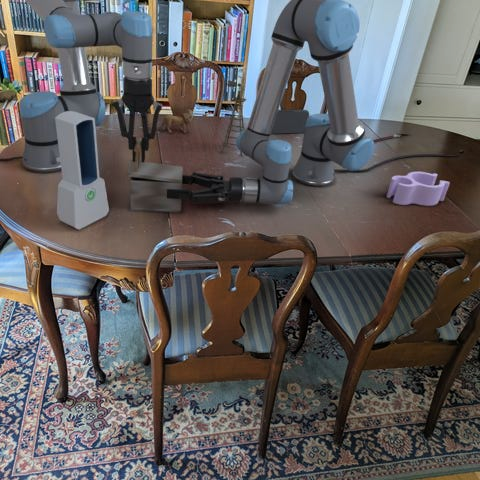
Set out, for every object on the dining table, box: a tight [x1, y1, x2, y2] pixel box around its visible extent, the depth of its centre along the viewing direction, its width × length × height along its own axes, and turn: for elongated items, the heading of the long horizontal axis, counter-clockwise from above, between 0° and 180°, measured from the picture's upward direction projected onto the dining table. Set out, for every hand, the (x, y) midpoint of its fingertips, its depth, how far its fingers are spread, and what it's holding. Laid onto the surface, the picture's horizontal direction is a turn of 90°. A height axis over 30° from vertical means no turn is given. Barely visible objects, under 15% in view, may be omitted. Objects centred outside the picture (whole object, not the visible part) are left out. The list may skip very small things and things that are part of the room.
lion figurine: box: [158, 109, 194, 134], centre depth 194 cm, size 15×5×9 cm, turn 110°
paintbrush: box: [372, 133, 409, 143], centre depth 213 cm, size 31×3×1 cm, turn 126°
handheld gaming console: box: [270, 109, 310, 135], centre depth 205 cm, size 23×3×10 cm, turn 108°
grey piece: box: [126, 137, 184, 183], centre depth 135 cm, size 16×9×9 cm, turn 94°
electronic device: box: [55, 111, 110, 231], centre depth 124 cm, size 12×8×30 cm, turn 148°
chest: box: [129, 172, 184, 213], centre depth 141 cm, size 15×9×10 cm, turn 94°
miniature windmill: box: [221, 72, 247, 156], centre depth 177 cm, size 9×8×30 cm
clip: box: [386, 171, 450, 207], centre depth 162 cm, size 20×12×7 cm, turn 109°
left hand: (138, 160), depth 135 cm, fingers closed on grey piece, 2 cm apart
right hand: (167, 186), depth 140 cm, fingers closed on chest, 9 cm apart
